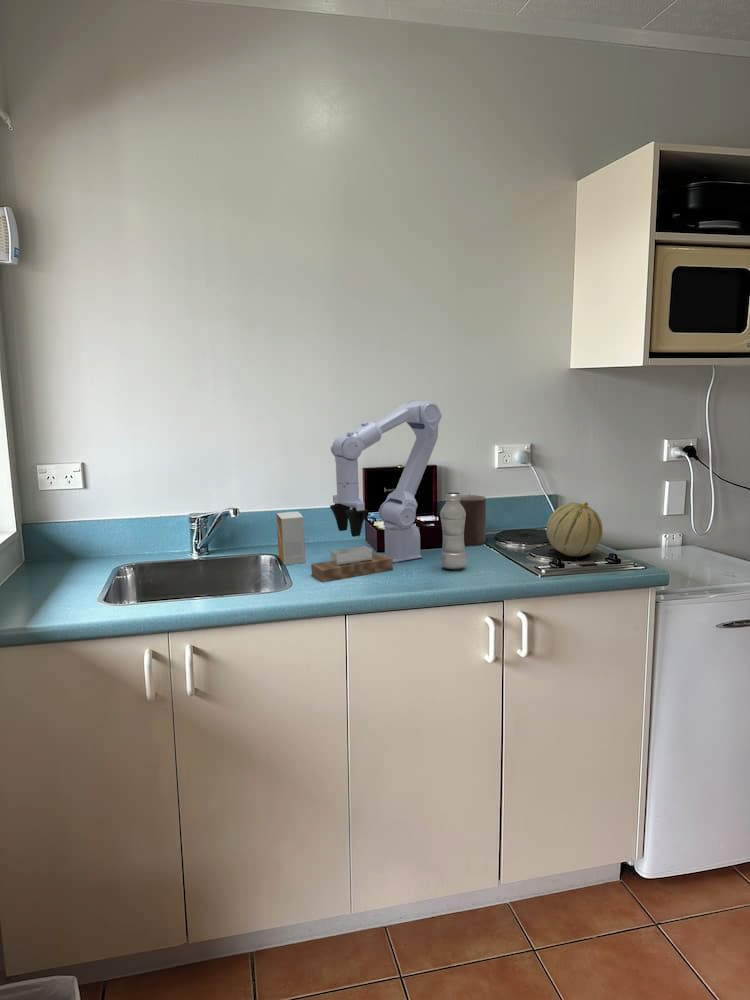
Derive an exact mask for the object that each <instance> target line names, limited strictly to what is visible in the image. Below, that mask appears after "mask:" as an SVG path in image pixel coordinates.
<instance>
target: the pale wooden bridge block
mask: <svg viewBox="0 0 750 1000" xmlns="http://www.w3.org/2000/svg"><path fill="white" fill-rule="evenodd" d="M372 554H373V548H370V547H368V546H366V545H364V546H359V547H350V548H345V549H339V550H332V551H330V557H331V558H330V561H331V563H333V564H335V565H336V566H344V565H347V564H352V563H358V562H360V563H362V562H368V561H371V560H372Z"/></svg>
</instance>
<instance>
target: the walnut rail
mask: <svg viewBox="0 0 750 1000" xmlns="http://www.w3.org/2000/svg"><path fill="white" fill-rule="evenodd" d="M383 554H384V553H382V552H378V553H372V560H371V561H368V562H362V563H360V562H358V563H352V564H347V565H344V566H336V565H335V564H333V563H331V560H328V561H322V562H315V563H311V564H310V566H311V576H312V577H313V578H315V579H317V580H319V581H320V582H322V583H326V582H325V581H327V582H332V581H338V580H344V579H348V578H354V577H360V576H365V575H372V574H377V573H383V572H389V571H393V570H394V566H393V565H394V562H393V559H392V558H390V557H388V556H385V555H383ZM343 578H344V579H343Z"/></svg>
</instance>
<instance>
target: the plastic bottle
mask: <svg viewBox="0 0 750 1000" xmlns="http://www.w3.org/2000/svg"><path fill="white" fill-rule="evenodd" d="M460 495H461V492H458V491H457V492H456V491H451V492H449V491H448V492H445V501H446V502H445V504H444V505H443V506H442V508H441V509H440V515H439V517H440V523H441V530H442V549H441V554H440V562H441V565H442V567H443V568H444V569H446V570H460V569H464V568H465V566H466V564H467V553H466V549H465V547H466V546H465V545H464V525H465V517H466V512H465V509H464V508H463V506H462V505H461V504H460V500H461V498H460Z"/></svg>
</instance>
